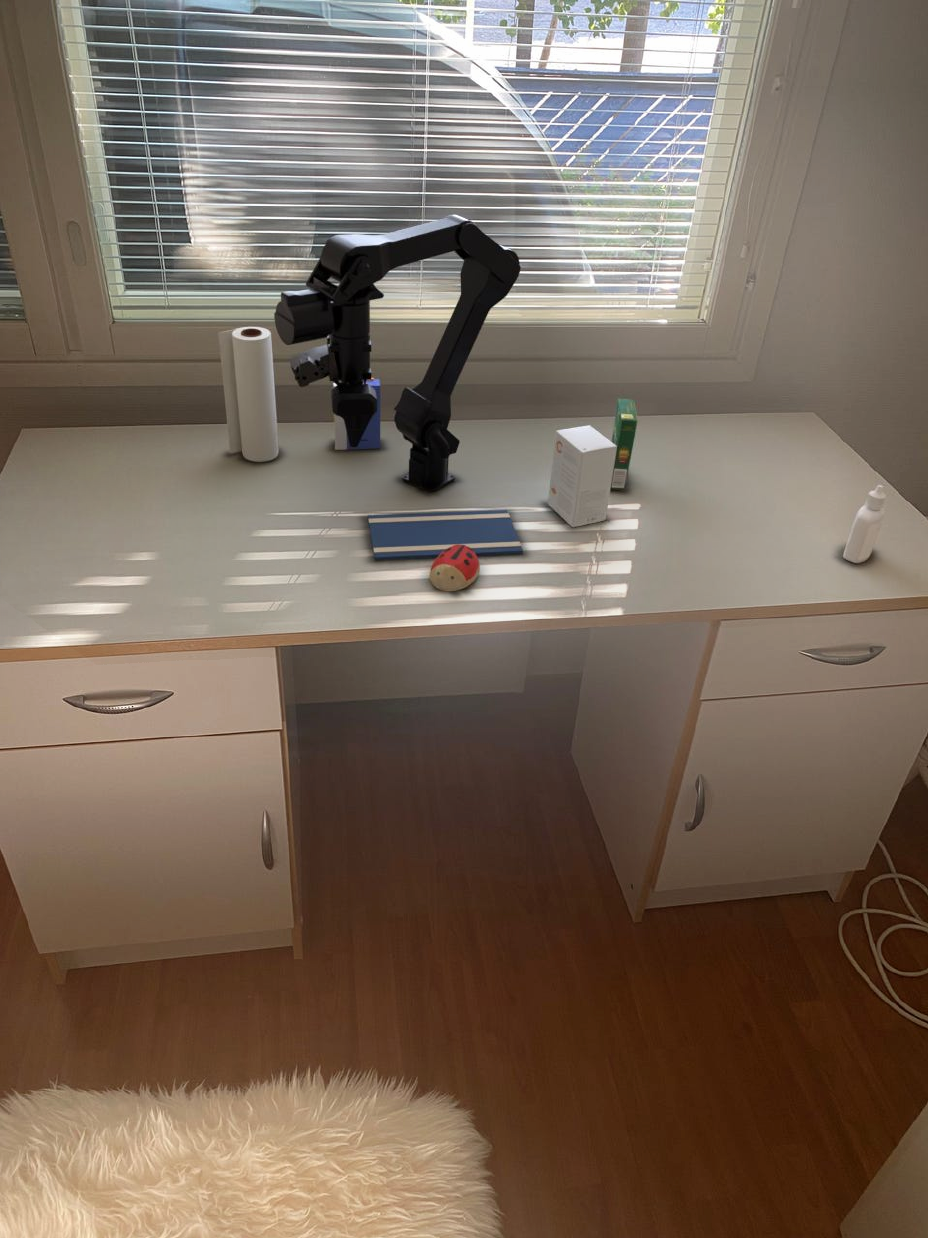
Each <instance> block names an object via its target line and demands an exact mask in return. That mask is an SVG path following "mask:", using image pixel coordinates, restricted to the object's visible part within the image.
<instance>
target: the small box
mask: <svg viewBox="0 0 928 1238" xmlns="http://www.w3.org/2000/svg"><path fill="white" fill-rule="evenodd" d="M555 431H556V432H555V439H554V440H555V441H554V448H553V455H552V463H551V465H552V466H551V471H550V480H549V489H548V497H547V505H548V506H549V507H550V508H551V509H552V510H553V511H554V512H555V513H556V514H558V515H559V516H560V517H561V518H562V519H563V520H564V521H565V522H566V523H567V524H568V525H569V526H571V528H576V527H582V526H585V525H590V524H595V523H598V522H599V523H600V522H603V521H606V520H607V514H608V507H609V500H610V495H611V494H610V493H611V490H610V488H611V482H612V476H613V469H614V462H615V456H616V450H617V446H616V445H615V444H613V443H612V442H611V441H612V440H610V439H608V438H607V437H605V436H604V435H603V434H602V433H600V432H599V431H598V430H597V429H595V427H593V426H592V425H583V426H577V427H569V428H564V429H557V430H555Z"/></svg>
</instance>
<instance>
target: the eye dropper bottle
mask: <svg viewBox="0 0 928 1238" xmlns="http://www.w3.org/2000/svg"><path fill="white" fill-rule="evenodd" d="M883 488H884V486H883V485H882V484H878V485H877V486H876V488H875V490H871V491H869V492H868V495H867V497H866V500H865V503H864V505H862V506H861V507H860V508H859V510H858V511H857V513H856V515H855V518H854V521H853V524H852V527H851V530H850V534H849V536H848V539H847V542H846V545H845V547H844V551H843V556H842V557H843V559H844V560H847V561H849V562H851V563H854V564H860V563H863V562H865V561H866V560H868V559H869V558H870V556H871V554H872V552H873V549H874V546H875V544H876V540H877V538H878V536H879V535H878V534H879V532H880V529H881V527H882V525H883V524H882V523H883V521H884V518H885V515H886V514H885V513H886V512H885V508H884V504H885V501H886V498H887V495H886V494H885V492H883Z"/></svg>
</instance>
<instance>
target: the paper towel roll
mask: <svg viewBox="0 0 928 1238" xmlns="http://www.w3.org/2000/svg"><path fill="white" fill-rule="evenodd" d="M217 334H218V344H219V353H220V363H221V364H220V366H221V374H222V384H223V392H224V393H223V395H224V405H225V414H226V415H225V416H226V425H227V426H226V427H227V434H228V435H227V436H228V437H227V438H228V445H229V454H234V453H238V452H241V453H242V456H243V457H244V459H246V460H248V461H251V462H257V463H263V462H264V463H265V462H270V461H272V460H275V459H276V458H278V455H279V453H280V451H279V450H280V449H279V434H278V420H277V418H278V417H277V406H276V404H277V403H276V390H275V389H276V388H275V375H274V374H275V372H274V360H273V359H274V357H273V345H272V344H273V343H272V332H271V331H270V330H269V329H267V328H265V327H260V326H244V327H236V328H232V329H229V330H225V331H218V333H217Z"/></svg>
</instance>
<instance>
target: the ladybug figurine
mask: <svg viewBox="0 0 928 1238" xmlns="http://www.w3.org/2000/svg"><path fill="white" fill-rule="evenodd" d="M480 570H481V564H480V561H479V557H478V556H476V554H475V552H474V551H473V550H472V549H471V548H470V547H468V546H466V545H461V544H459V545H453V546H451V547H449V548H447V549H446V550H444V551H443V552H442V553H441V554H440V555H439V556H438V557H437V558H434V561H433V562H432V565H431V567H430V570H429V579H430V582H431V584H432V585H433V586H434V587H435V588H437V589H439V590H440V591H444V592H457V591H459V590H462V589H465V588H467V587H468V586H470V585H471V584H472V583H474V581H475V580H476V579H477V578H478V576H479V574H480Z"/></svg>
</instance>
